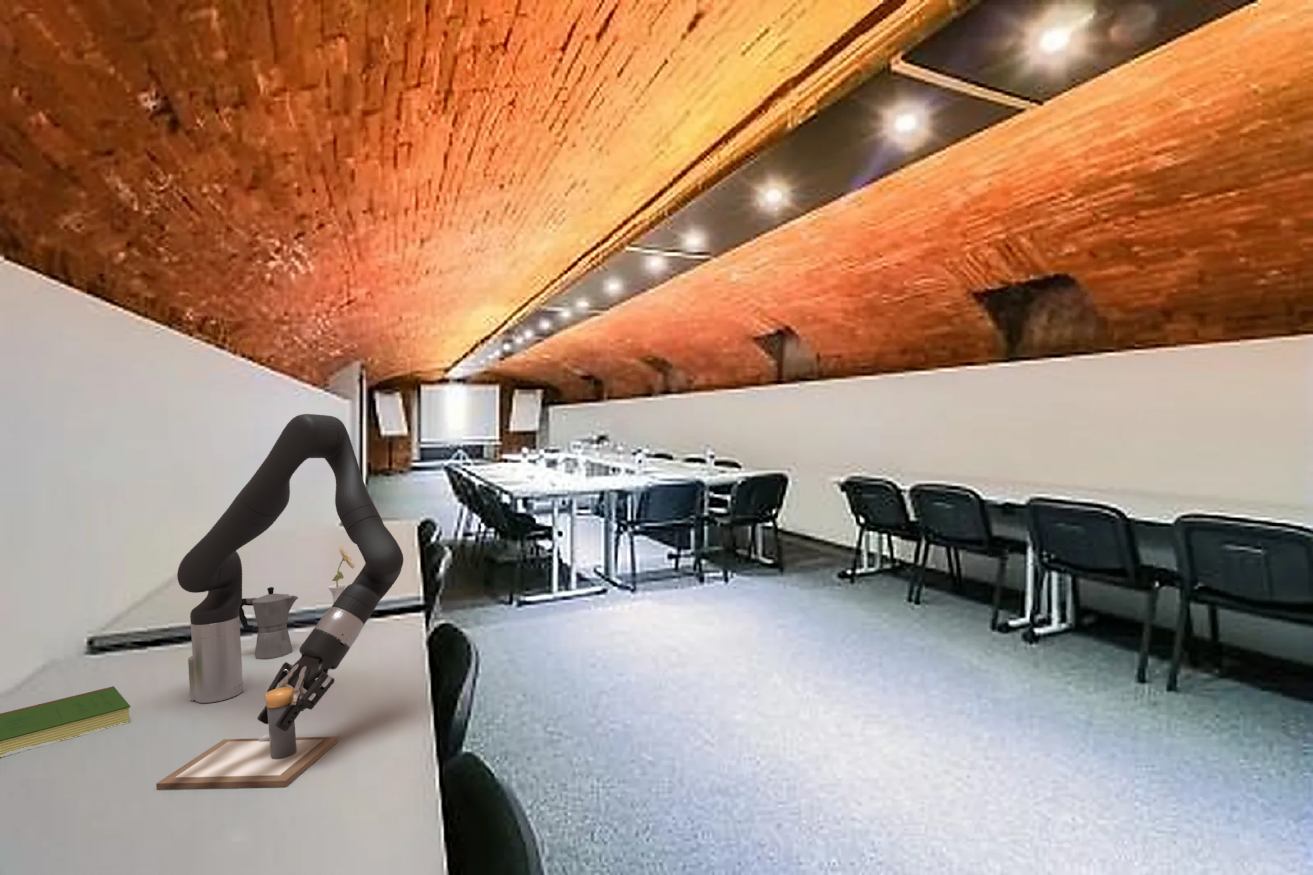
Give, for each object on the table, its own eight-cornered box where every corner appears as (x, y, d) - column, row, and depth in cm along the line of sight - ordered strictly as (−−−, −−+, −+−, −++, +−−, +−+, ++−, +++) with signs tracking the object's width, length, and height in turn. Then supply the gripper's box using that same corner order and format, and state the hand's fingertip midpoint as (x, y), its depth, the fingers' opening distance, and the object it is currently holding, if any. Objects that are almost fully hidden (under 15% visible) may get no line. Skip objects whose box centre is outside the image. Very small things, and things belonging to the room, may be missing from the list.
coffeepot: (305, 645, 189) (302, 581, 189) (295, 656, 180) (291, 588, 180) (244, 652, 186) (240, 586, 186) (230, 663, 177) (227, 594, 176)
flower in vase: (349, 637, 196) (345, 550, 196) (310, 639, 196) (305, 552, 196) (369, 624, 209) (365, 543, 209) (332, 626, 209) (328, 544, 209)
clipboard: (156, 789, 112) (155, 778, 112) (223, 744, 127) (223, 735, 127) (286, 787, 110) (285, 775, 110) (337, 741, 126) (337, 732, 126)
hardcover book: (114, 702, 153) (113, 686, 153) (131, 724, 141) (130, 706, 140) (-45, 743, 135) (-46, 724, 135) (-42, 772, 122) (-44, 751, 122)
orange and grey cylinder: (264, 760, 118) (259, 697, 118) (279, 748, 122) (275, 687, 122) (288, 759, 117) (283, 695, 117) (302, 747, 122) (297, 686, 121)
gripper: (297, 622, 130) (233, 708, 120) (341, 631, 122) (276, 724, 112) (325, 642, 134) (265, 726, 124) (369, 652, 126) (309, 743, 116)
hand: (271, 725), depth 118 cm, fingers open, 5 cm apart
